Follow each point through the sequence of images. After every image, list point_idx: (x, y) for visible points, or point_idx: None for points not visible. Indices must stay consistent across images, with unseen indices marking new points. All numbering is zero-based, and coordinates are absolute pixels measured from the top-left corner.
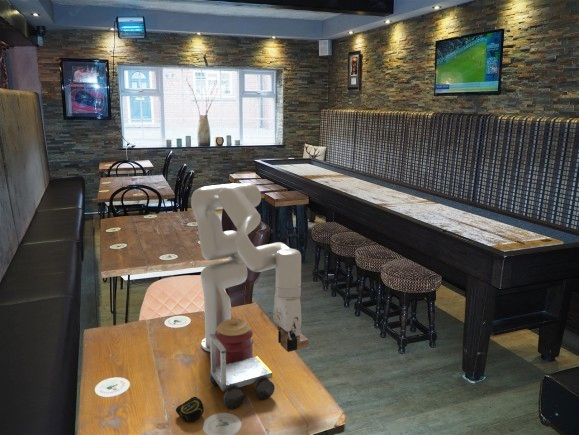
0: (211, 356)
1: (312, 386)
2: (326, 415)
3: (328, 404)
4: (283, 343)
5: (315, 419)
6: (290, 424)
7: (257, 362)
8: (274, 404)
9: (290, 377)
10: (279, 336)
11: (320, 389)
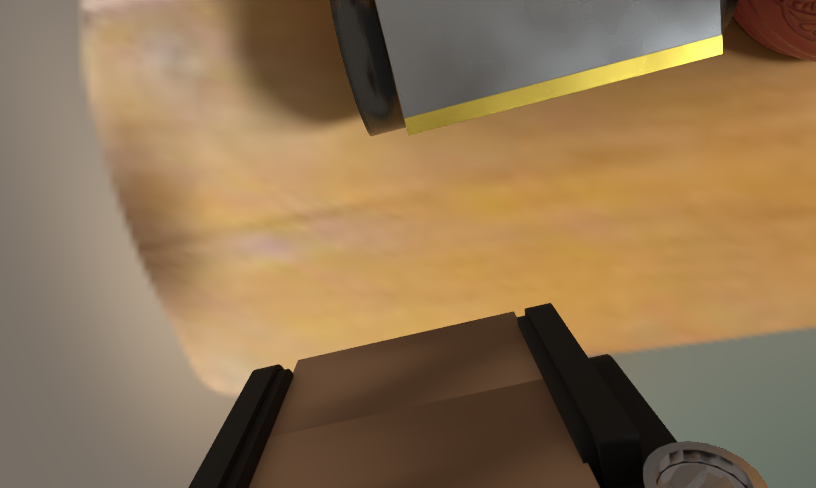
0: None
1: None
2: (184, 348)
3: None
4: (429, 367)
5: (157, 293)
6: (122, 163)
7: (613, 33)
8: (308, 115)
9: (549, 264)
10: (556, 374)
11: None
